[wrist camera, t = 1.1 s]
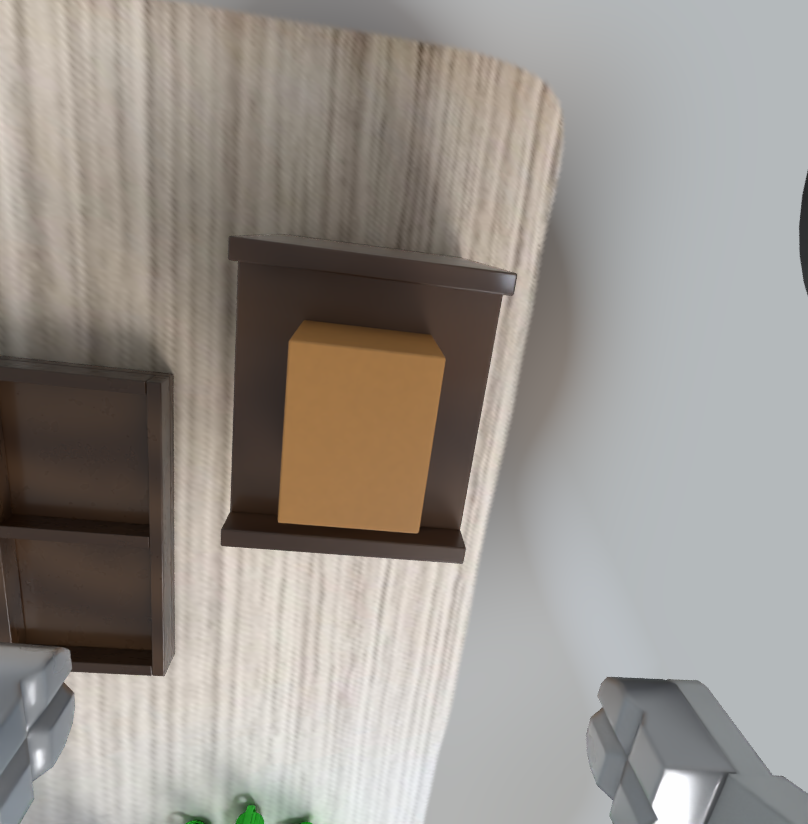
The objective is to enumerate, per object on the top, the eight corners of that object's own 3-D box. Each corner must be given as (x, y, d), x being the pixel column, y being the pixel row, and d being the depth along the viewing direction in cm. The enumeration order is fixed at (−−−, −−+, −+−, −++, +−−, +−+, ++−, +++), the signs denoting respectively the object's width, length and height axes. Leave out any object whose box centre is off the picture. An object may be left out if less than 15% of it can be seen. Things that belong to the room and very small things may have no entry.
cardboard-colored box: (303, 319, 20) (288, 339, 17) (432, 334, 21) (446, 357, 17) (292, 475, 23) (276, 524, 19) (410, 485, 23) (418, 536, 19)
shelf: (-13, 354, 30) (-39, 362, 28) (173, 373, 31) (160, 383, 29) (20, 645, 36) (1, 668, 34) (174, 654, 37) (164, 676, 35)
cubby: (280, 233, 29) (227, 235, 18) (463, 258, 30) (518, 273, 19) (269, 441, 33) (220, 546, 22) (432, 456, 34) (463, 564, 23)
